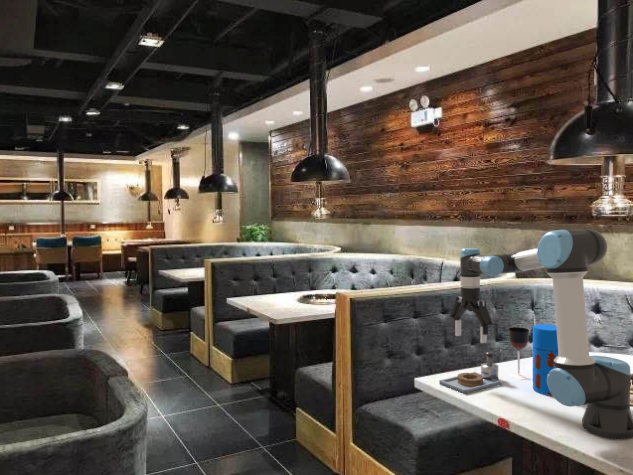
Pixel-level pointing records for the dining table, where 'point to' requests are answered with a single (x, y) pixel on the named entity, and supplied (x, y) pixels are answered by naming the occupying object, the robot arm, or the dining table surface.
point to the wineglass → (518, 345)
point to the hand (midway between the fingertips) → (470, 339)
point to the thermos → (543, 355)
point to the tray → (456, 386)
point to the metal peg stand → (489, 368)
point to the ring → (470, 379)
